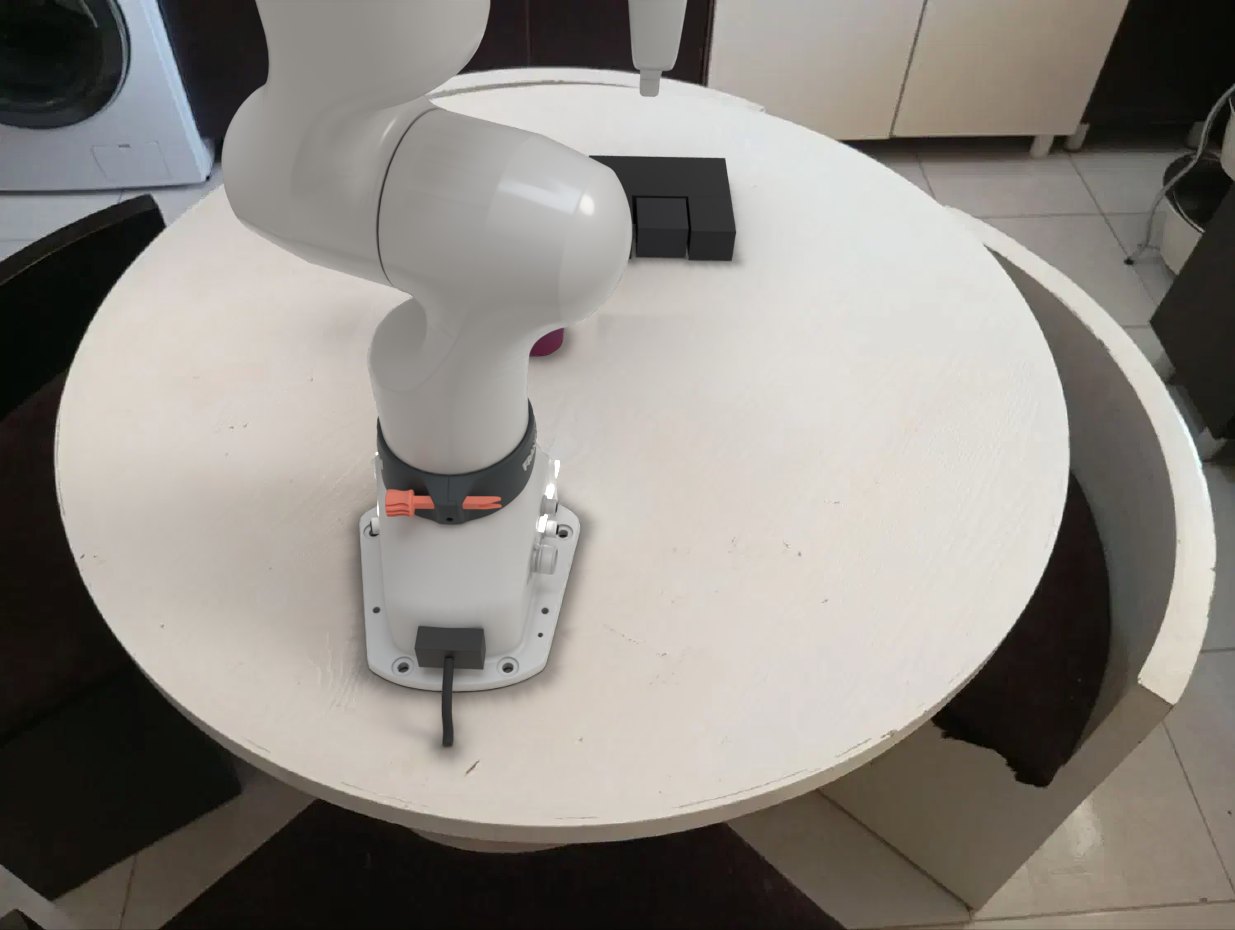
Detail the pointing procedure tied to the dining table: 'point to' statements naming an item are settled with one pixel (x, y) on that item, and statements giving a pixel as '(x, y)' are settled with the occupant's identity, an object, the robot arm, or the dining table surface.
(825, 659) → the dining table surface
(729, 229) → the big black u-shaped block
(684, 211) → the small cube
